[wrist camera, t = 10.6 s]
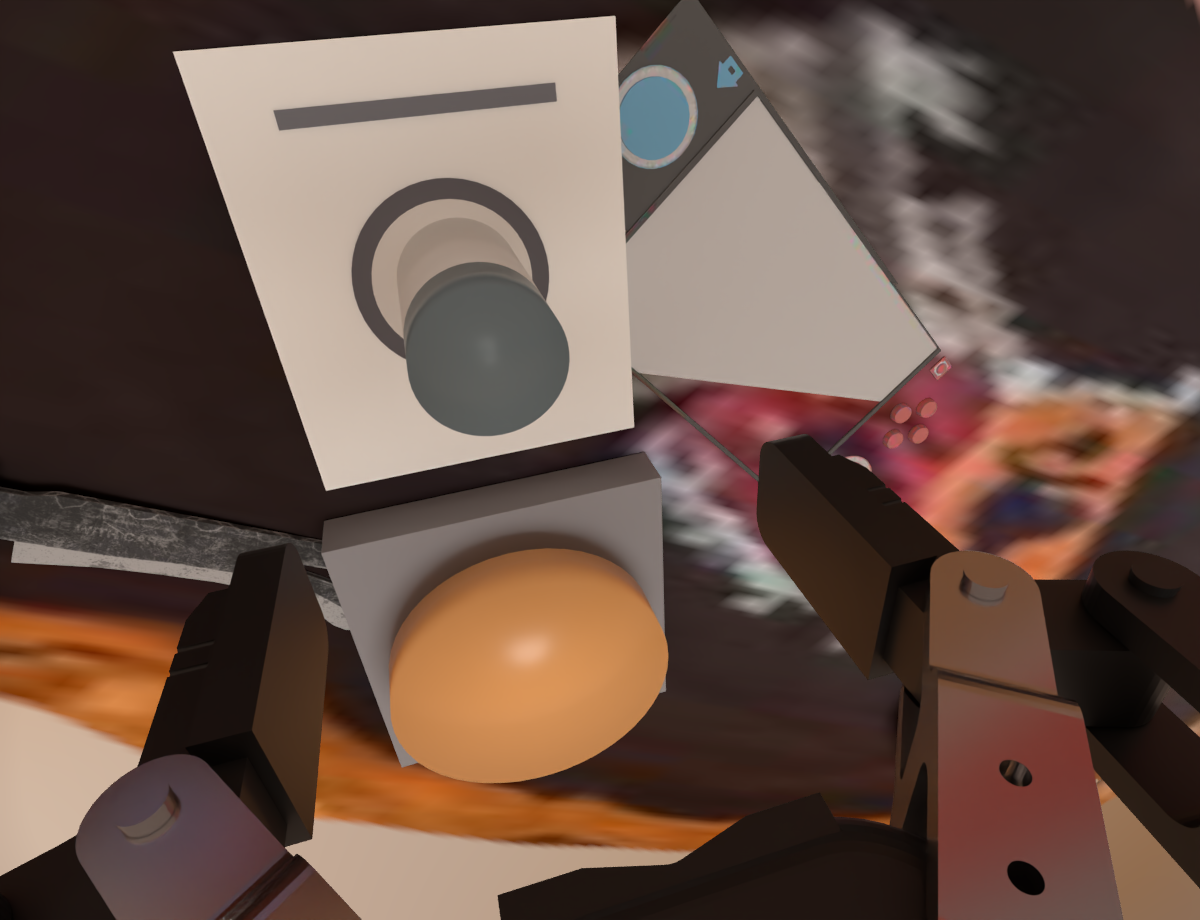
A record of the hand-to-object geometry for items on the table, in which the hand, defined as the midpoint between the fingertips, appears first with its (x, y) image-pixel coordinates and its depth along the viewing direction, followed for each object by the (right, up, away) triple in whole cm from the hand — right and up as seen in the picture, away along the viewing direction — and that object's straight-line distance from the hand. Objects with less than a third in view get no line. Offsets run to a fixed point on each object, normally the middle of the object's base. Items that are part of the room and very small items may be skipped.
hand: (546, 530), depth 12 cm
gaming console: (+8, +7, +16) cm, 19 cm away
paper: (-4, +7, +11) cm, 14 cm away
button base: (-3, -5, +19) cm, 20 cm away
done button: (-2, -7, +17) cm, 18 cm away
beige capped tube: (-4, +7, +11) cm, 14 cm away
